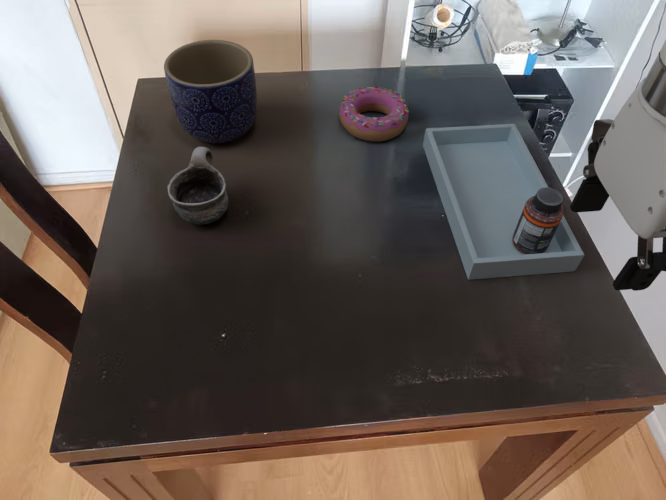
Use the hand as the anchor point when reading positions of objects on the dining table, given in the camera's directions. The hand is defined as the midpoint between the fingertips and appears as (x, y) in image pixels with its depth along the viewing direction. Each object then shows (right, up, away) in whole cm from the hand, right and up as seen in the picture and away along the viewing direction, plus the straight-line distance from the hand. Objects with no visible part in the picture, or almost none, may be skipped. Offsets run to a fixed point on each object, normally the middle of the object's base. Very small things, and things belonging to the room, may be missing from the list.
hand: (605, 245), depth 51 cm
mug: (-49, +7, +45) cm, 67 cm away
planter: (-49, +25, +60) cm, 81 cm away
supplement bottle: (+7, 0, +39) cm, 40 cm away
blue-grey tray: (+3, +8, +47) cm, 48 cm away
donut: (-18, +26, +61) cm, 69 cm away
